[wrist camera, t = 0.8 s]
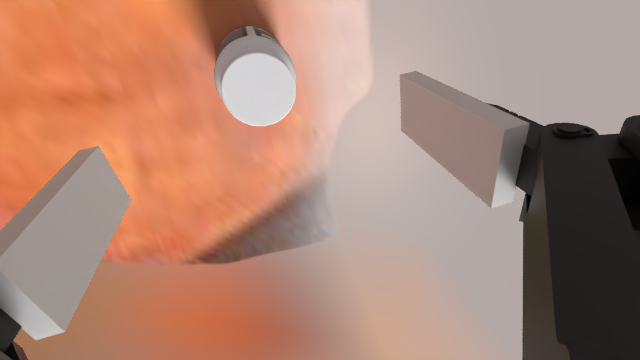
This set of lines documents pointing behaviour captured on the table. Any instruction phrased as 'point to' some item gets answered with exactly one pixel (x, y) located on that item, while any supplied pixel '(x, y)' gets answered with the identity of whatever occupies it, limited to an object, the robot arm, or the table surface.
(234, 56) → the pill bottle
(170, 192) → the table surface
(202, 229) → the table surface
